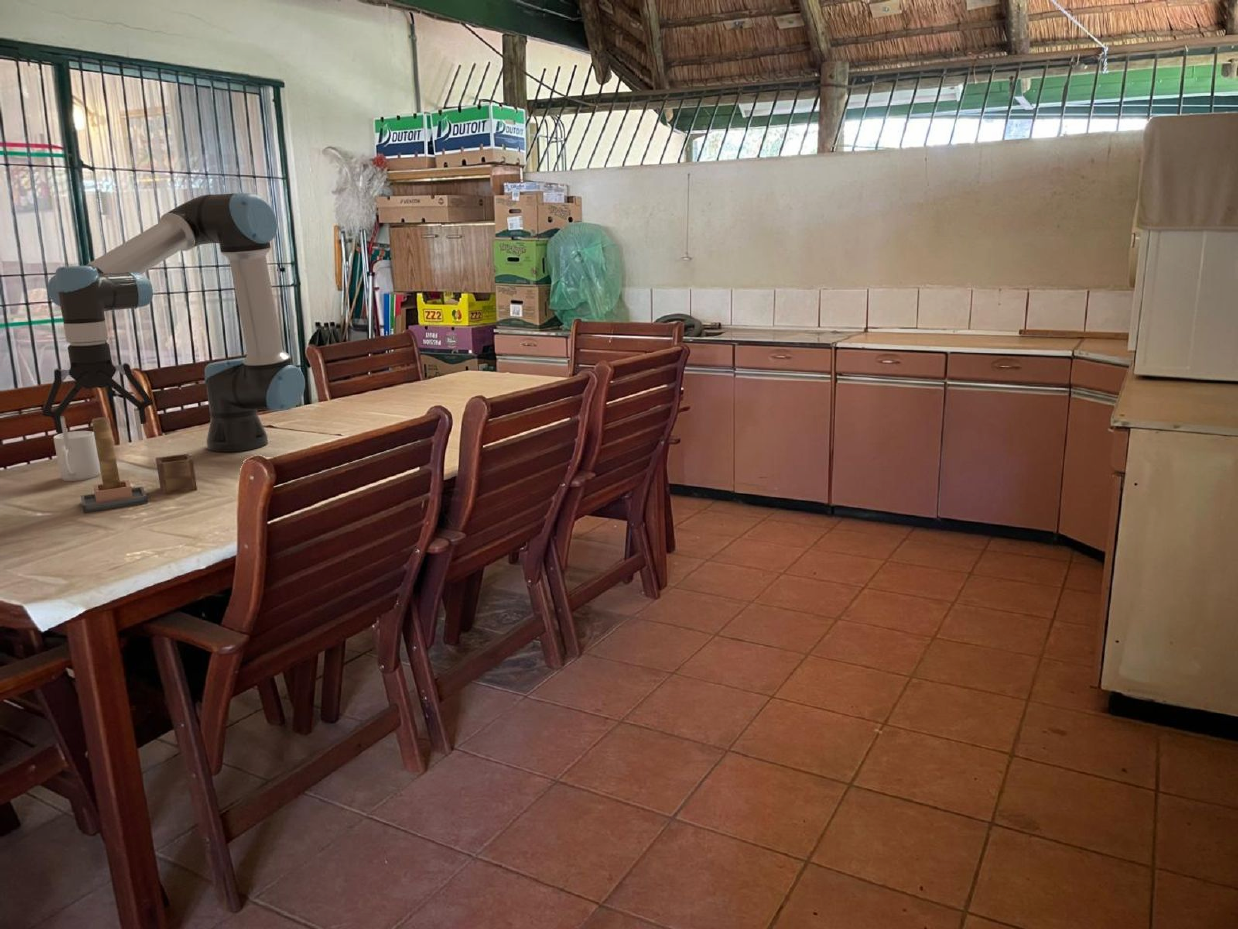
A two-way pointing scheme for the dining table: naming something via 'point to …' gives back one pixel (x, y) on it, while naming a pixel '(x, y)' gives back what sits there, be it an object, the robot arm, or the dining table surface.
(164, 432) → the dining table surface
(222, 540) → the dining table surface
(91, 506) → the tray
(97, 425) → the dowel
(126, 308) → the robot arm
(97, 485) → the holder
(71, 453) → the mug
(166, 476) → the pen cup
